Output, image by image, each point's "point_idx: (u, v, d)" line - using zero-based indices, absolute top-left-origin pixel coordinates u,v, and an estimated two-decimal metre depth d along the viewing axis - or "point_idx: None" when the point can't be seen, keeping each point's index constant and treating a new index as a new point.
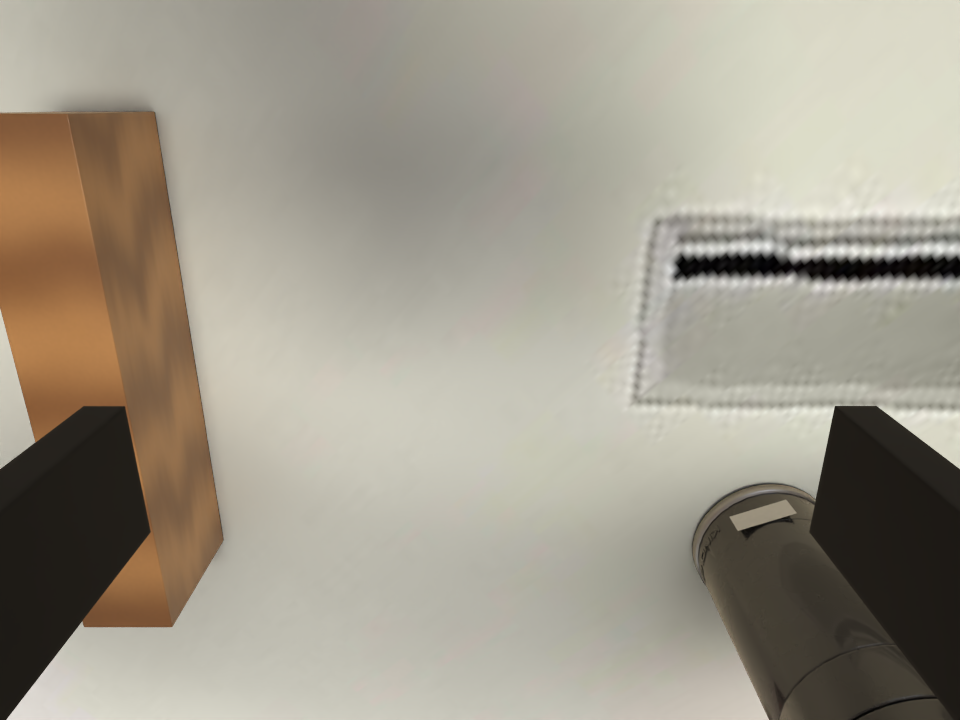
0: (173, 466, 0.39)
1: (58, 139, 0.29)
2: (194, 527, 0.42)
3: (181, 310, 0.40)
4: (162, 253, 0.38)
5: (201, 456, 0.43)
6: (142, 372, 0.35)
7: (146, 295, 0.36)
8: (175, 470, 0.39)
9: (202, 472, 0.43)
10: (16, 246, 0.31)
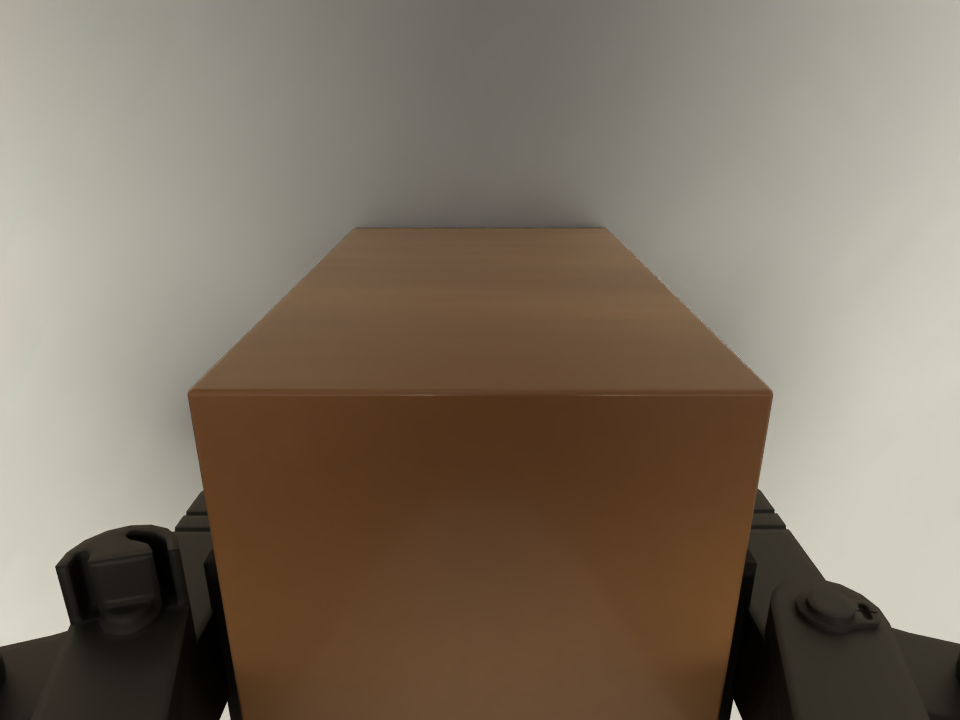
0: None
1: (689, 497, 0.06)
2: None
3: None
4: None
5: None
6: None
7: None
8: None
9: None
10: None
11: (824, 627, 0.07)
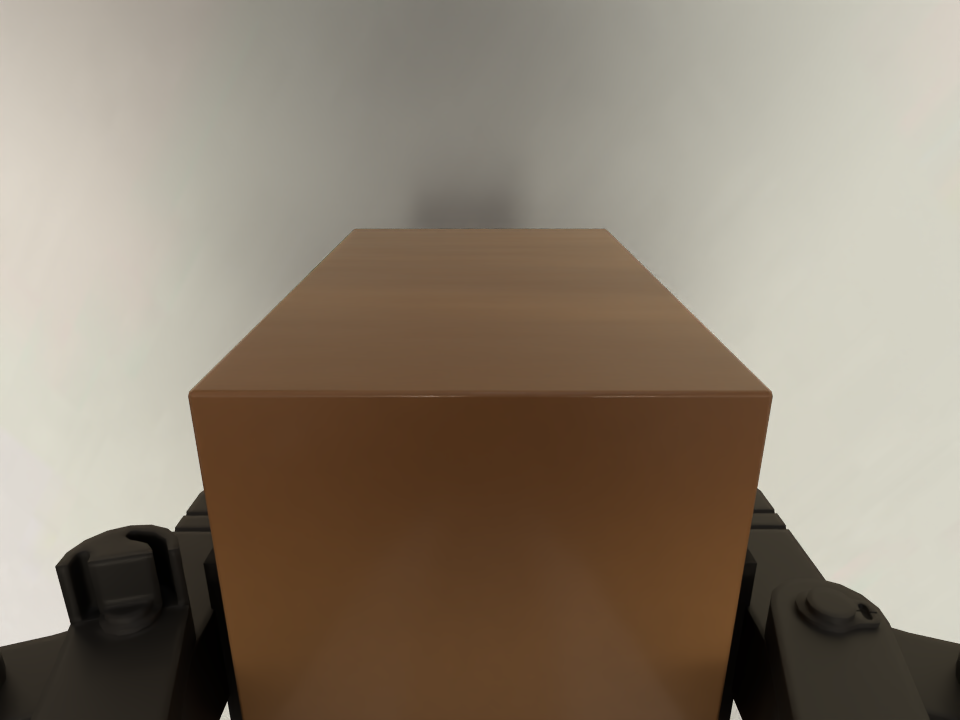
0: None
1: (689, 499, 0.06)
2: None
3: None
4: None
5: None
6: None
7: None
8: None
9: None
10: None
11: (824, 627, 0.07)
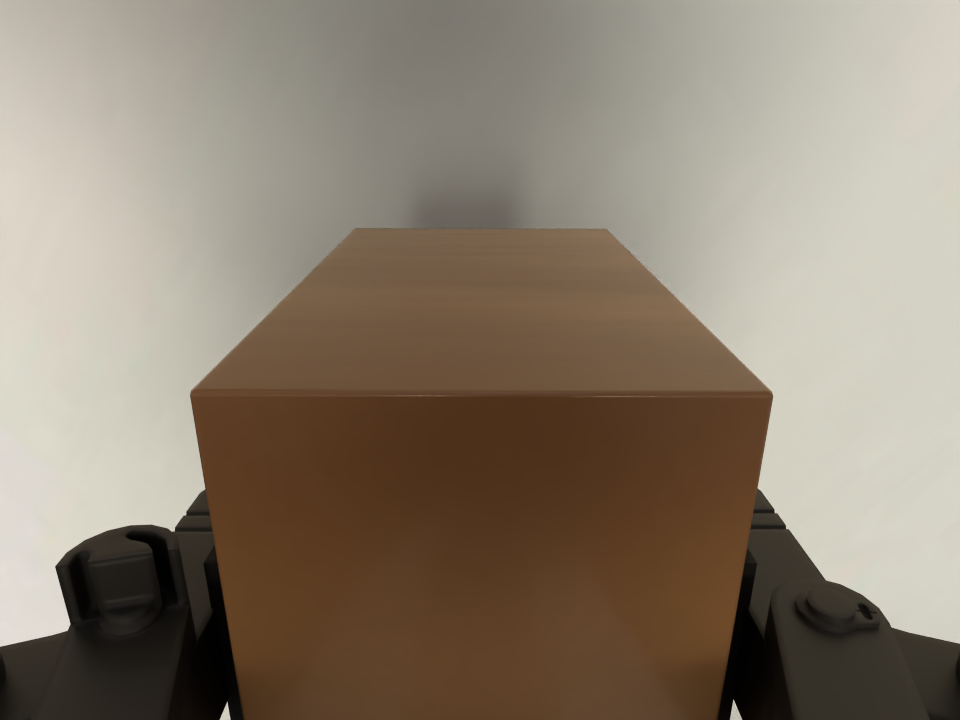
0: None
1: (689, 499, 0.06)
2: None
3: None
4: None
5: None
6: None
7: None
8: None
9: None
10: None
11: (824, 627, 0.07)
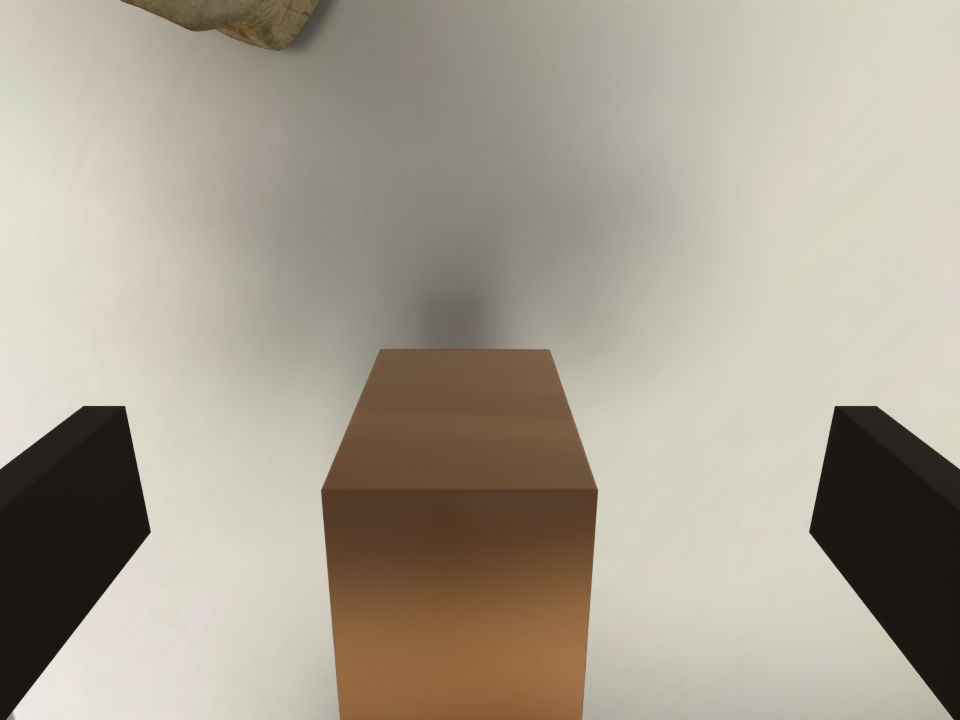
0: None
1: (561, 539, 0.13)
2: None
3: None
4: None
5: None
6: None
7: None
8: None
9: None
10: None
11: None
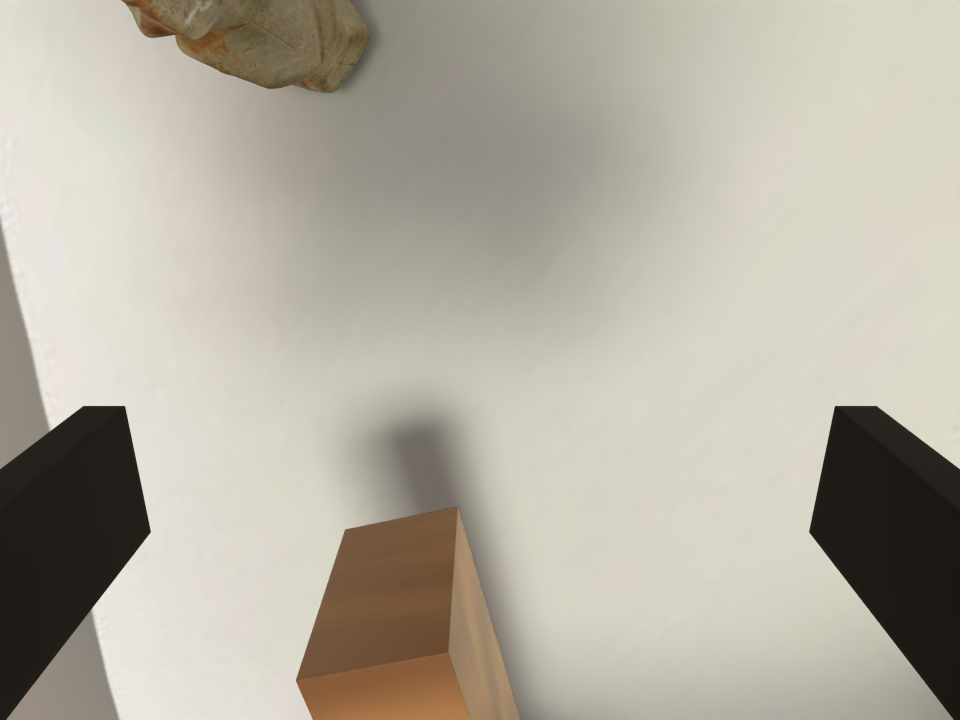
0: None
1: (437, 681, 0.22)
2: None
3: (514, 706, 0.32)
4: (497, 669, 0.30)
5: None
6: None
7: None
8: None
9: None
10: None
11: None
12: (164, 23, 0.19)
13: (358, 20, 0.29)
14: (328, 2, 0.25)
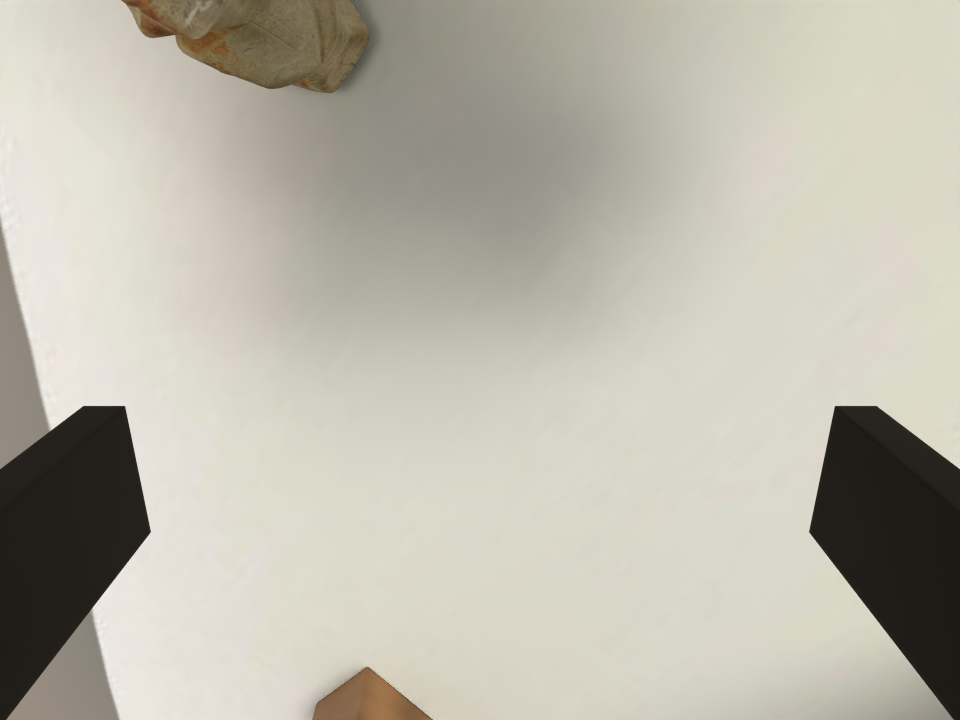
0: None
1: None
2: None
3: None
4: None
5: None
6: None
7: None
8: None
9: None
10: None
11: None
12: (164, 23, 0.19)
13: (358, 20, 0.29)
14: (328, 2, 0.25)
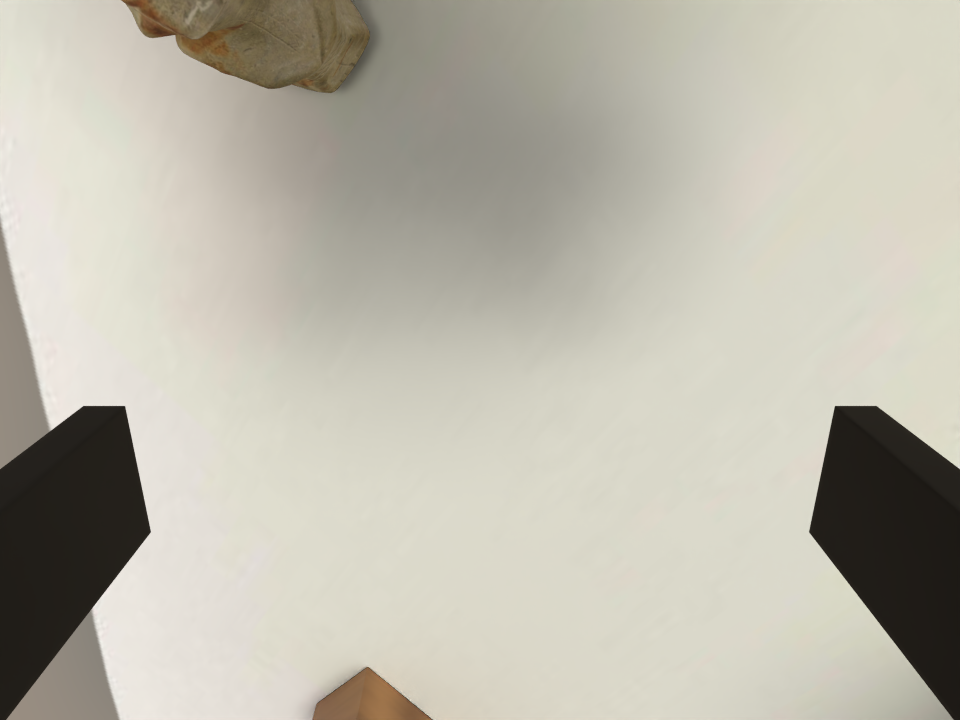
0: None
1: None
2: None
3: None
4: None
5: None
6: None
7: None
8: None
9: None
10: None
11: None
12: (164, 23, 0.19)
13: (358, 20, 0.29)
14: (328, 2, 0.25)
